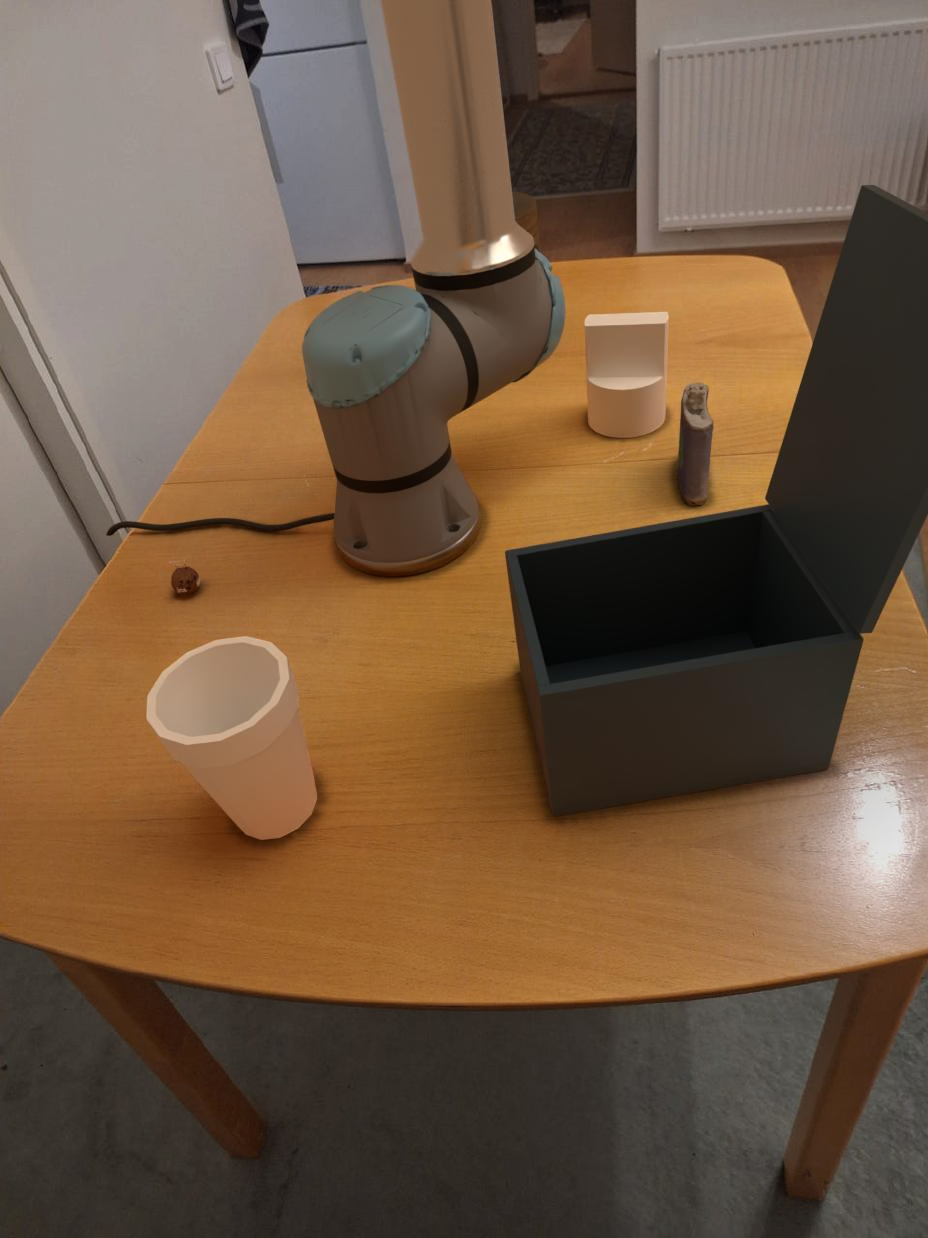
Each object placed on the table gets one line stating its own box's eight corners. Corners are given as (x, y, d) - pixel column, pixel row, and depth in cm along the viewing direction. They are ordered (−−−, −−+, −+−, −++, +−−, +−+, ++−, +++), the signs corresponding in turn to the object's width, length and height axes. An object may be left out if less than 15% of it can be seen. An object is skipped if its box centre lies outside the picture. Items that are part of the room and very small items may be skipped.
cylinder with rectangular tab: (583, 437, 93) (578, 338, 85) (592, 399, 100) (589, 303, 92) (662, 438, 91) (666, 335, 83) (667, 399, 97) (671, 300, 89)
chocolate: (171, 601, 81) (156, 571, 79) (177, 587, 83) (162, 557, 80) (200, 598, 81) (185, 568, 78) (205, 584, 83) (191, 553, 80)
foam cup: (342, 747, 64) (298, 629, 55) (332, 850, 57) (279, 734, 48) (226, 761, 65) (164, 646, 56) (202, 864, 58) (127, 751, 49)
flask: (708, 506, 81) (716, 408, 73) (678, 507, 81) (683, 410, 74) (702, 457, 87) (708, 363, 80) (674, 458, 88) (678, 365, 81)
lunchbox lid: (1025, 273, 34) (1161, 270, 35) (861, 184, 45) (967, 183, 45) (859, 634, 48) (959, 627, 48) (764, 498, 58) (847, 494, 59)
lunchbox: (553, 817, 57) (539, 695, 48) (520, 670, 68) (504, 550, 59) (828, 769, 56) (864, 639, 48) (751, 630, 67) (769, 503, 59)
